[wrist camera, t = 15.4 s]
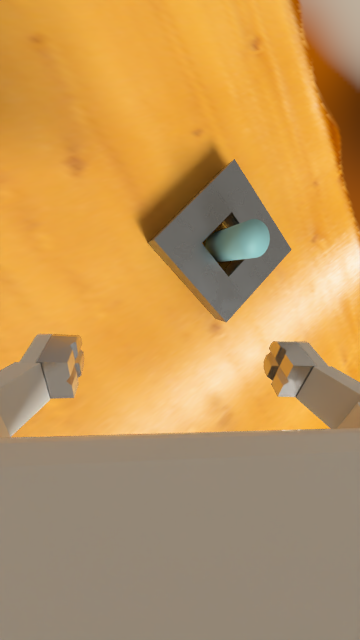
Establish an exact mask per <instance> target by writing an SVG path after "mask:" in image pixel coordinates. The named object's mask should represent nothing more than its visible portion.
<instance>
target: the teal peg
mask: <svg viewBox="0 0 360 640" xmlns="http://www.w3.org/2000/svg"><path fill="white" fill-rule="evenodd" d="M269 242H270V234H269V230H268V228H267V226H266V225H265V224H264V223H263V222H262V221H260V220H258V219H251V220H248V221H245V222H242V223H240V224H237V225H234V226H231V227H228V228H226V229H223V230H220V231H217V232H214V233H212V234H211V235H209V237H208V238H207V240H206V243H205V248H206V249H207V250H208V252H209V253H210V254H211V255H212V257H213V258H214V259H215V260H216V262H224V261H232V260H241V259H250V258H257V257H260V256H262V255H263V254H264V253H265V252H266V250H267V248H268V246H269Z"/></svg>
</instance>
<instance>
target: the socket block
mask: <svg viewBox="0 0 360 640" xmlns="http://www.w3.org/2000/svg"><path fill="white" fill-rule="evenodd" d="M251 219H258V220H260V221H262V222H263V223H264V224H265V225H266V226H267V228H268V230H269V234H270V242H269V246H268V248H267V250H266V252H265V253H264V254H263V255H262V256H260V257H257V258H250V259H241V260H233V261H232V262H231V263H230V264H229V265H228V266H227V267H226V268H225V269H224V270H223V269H222V268H221V267H220V265H219V264H218V263H217V262H216V260H215V259H214V258H213V257H212V255H211V254H210V253H209V252H208V250H207V249H206V248H205V247H204V245H203V244H202V242H203V241H204V240H205V239H206V238H207V237H208V236H209V235H210V234H211V233H212V232H213V231H214V230H215V229H216V228H217V227H218V226H219V225H220V224H221V223H222V222H223V223H224V224H225V225H226V227H227V228H228V227H231V226H234V225H237V224H240V223H242V222H245V221H248V220H251ZM148 244H149V245H150V246H151V247H152V248H153V249H154V251H155V252H156V253H157V254H158V255H159V256H160V257H161V258H162V259H163V261H164V262H165V263H166V264H167V265H168V266H169V267H170V268H171V269H172V271H173V272H174V273H175V274H176V275H177V276H178V277H179V278H180V280H181V281H182V282H183V283H184V284H185V285H186V286H187V287H188V288H189V290H190V291H191V292H192V293H193V294H194V295H195V296H196V297H197V299H198V300H199V301H200V302H201V303H202V304H203V305H204V306H205V307H206V309H207V310H208V311H209V312H210V313H211V314H212V315H213V316H214V317H215V319H218V320H221V321H224V322H227V321H228V320H229V319H230V318H231V317H232V315H233V314H234V313H235V312H236V311H237V310H238V309H239V308H240V307H241V305H242V304H243V303H244V302H245V301H246V300H247V299H248V298H249V296H250V295H251V294H252V293H253V292H254V291H255V290H256V289H257V288H258V286H259V285H260V284H261V283H262V282H263V281H264V280H265V279H266V277H267V276H268V275H269V274H270V273H271V272H272V271H273V270H274V269H275V267H276V266H277V265H278V264H279V263H280V262H281V261H282V260H283V258H284V257H285V256H286V255H287V254H288V253H289V252H290V251H291V248H290V247H289V245H288V243H287V242H286V240H285V239H284V237H283V235H282V234H281V232H280V231H279V229H278V228H277V226H276V224H275V223H274V221H273V220H272V218H271V216H270V215H269V213H268V212H267V210H266V209H265V207H264V205H263V204H262V202H261V201H260V199H259V197H258V196H257V194H256V193H255V191H254V189H253V188H252V186H251V185H250V183H249V182H248V180H247V178H246V177H245V175H244V174H243V172H242V170H241V169H240V167H239V166H238V164H237V163H236V161H235V159H234V160H233V161H232V162H230V163H229V164H228V165H227V166H226V167H224V168H223V169H222V170H221V171H220V172H219V173H218V174H217V175H216V176H215V177H214V178H213V179H212V180H211V181H210V182H209V183H208V184H207V185H206V186H205V187H204V188H203V189H202V190H201V191H200V192H199V193H198V194H197V195H196V196H195V197H194V198H193V199H192V200H191V201H190V202H189V203H188V204H187V205H186V206H185V207H184V208H183V209H182V210H181V211H180V212H179V213H178V214H177V215H176V216H175V217H174V218H173V219H172V220H171V221H170V222H169V223H168V224H167V225H166V226H165V227H164V228H162V229H161V230H160V231H159V232H158V233H157V234H156V235H155V236H154V237H153V238H152V239H151V240H150V241H149V242H148Z"/></svg>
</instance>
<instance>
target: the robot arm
mask: <svg viewBox="0 0 360 640" xmlns="http://www.w3.org/2000/svg"><path fill="white" fill-rule="evenodd" d="M81 346H82V340H81V337H80V336H79V335H59V334H38V335H37V336H36V337H35V339H34V340H33V342H32V343H31V345H30V346H29V348H28V349H27V351H26V353H25V354H24V356H23V357H22V359H21V360H20V362H15V363H13V364H11V365H9V366H8V367H6V368H4V369H2V370H0V640H360V382H358V381H356V380H354V379H353V378H351V377H349V376H347V375H346V374H344V373H342V372H340V371H339V370H337V369H335V368H333V367H328V365H327V364H326V363H325V362H324V361H323V359H322V358H321V357H320V356H319V355H318V354H317V352H316V351H315V350H314V349H313V348H312V346H311V345H310V344H309V343H307V342H280V341H273V342H272V343H271V345H270V347H269V349H270V353H269V354H268V355H267V356H266V357H265V360H264V370H265V373H266V375H267V377H269V378H270V379H271V380H272V384H271V385H272V387H273V388H274V390H275V392H276V394H277V396H280V397H296V398H297V399H298V400H299V401H300V402H301V403H303V404H304V405H305V406H306V407H307V408H308V409H309V410H310V411H312V412H313V413H314V414H315V415H316V416H317V417H318V418H320V419H321V420H322V421H323V422H324V423H325V424H326V425H328V426H329V427H330V428H331V429H305V430H270V431H234V432H197V433H161V434H125V435H89V436H53V437H17V438H11V436H12V435H13V434H14V433H15V432H16V431H17V430H18V429H20V428H21V427H22V426H23V425H24V424H25V423H26V422H27V421H28V420H29V419H30V418H31V417H32V416H33V415H34V414H36V413H37V412H38V411H39V410H40V409H41V408H42V407H43V406H44V405H45V404H46V403H47V402H48V401H49V400H50V398H74V396H75V393H76V390H77V387H78V377H80V376H81V375H82V371H83V366H84V354H83V352H82V351H81V350H80V348H81Z"/></svg>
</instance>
